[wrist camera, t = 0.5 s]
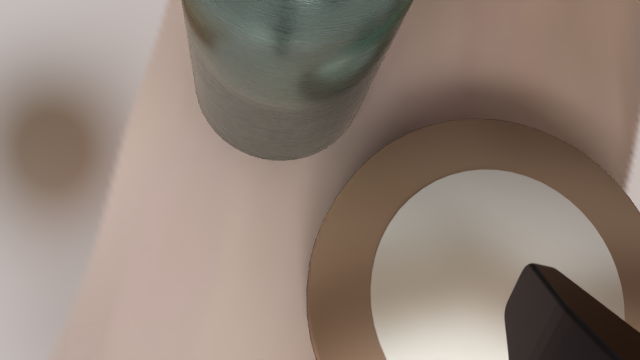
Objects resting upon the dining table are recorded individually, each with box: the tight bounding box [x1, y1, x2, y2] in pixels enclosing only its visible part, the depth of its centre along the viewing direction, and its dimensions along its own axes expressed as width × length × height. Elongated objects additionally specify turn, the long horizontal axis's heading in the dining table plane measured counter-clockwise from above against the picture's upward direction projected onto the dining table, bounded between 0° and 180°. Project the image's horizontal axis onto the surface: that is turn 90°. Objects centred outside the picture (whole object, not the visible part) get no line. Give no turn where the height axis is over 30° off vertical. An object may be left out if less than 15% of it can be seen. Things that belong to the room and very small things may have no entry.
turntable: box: [306, 119, 640, 360], centre depth 21 cm, size 13×13×1 cm
